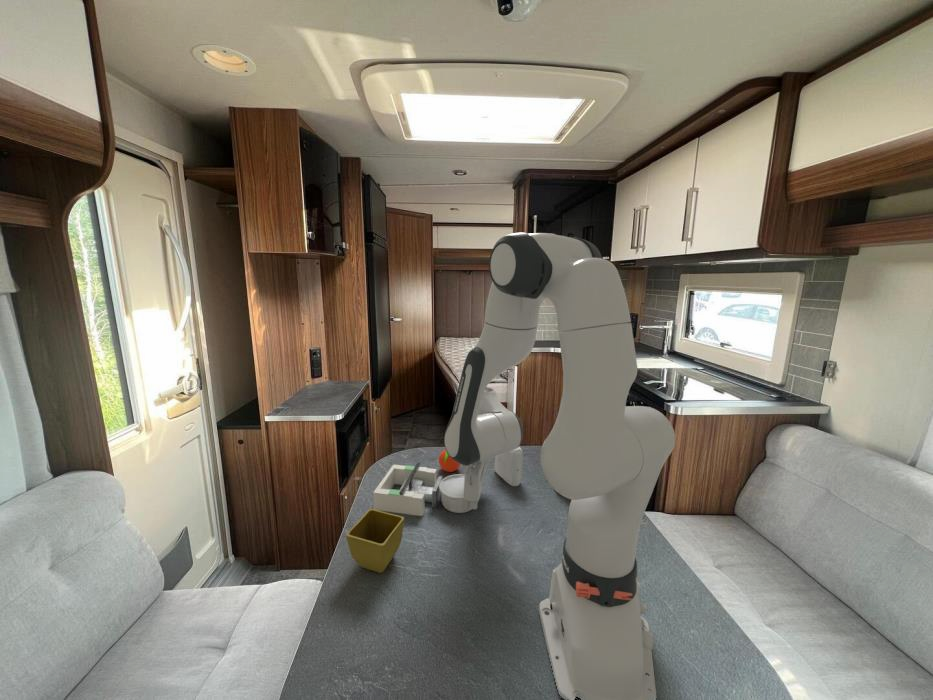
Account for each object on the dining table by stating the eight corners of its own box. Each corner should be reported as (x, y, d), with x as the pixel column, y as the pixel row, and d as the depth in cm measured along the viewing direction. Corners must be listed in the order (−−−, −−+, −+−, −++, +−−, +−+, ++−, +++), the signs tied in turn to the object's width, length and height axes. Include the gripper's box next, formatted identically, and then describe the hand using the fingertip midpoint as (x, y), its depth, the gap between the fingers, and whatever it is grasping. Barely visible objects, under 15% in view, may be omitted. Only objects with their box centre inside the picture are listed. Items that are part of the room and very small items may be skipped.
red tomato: (455, 480, 108) (455, 458, 106) (434, 475, 110) (433, 454, 108) (464, 466, 115) (464, 446, 114) (443, 462, 117) (443, 442, 116)
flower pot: (384, 584, 72) (383, 545, 70) (347, 572, 75) (344, 534, 73) (405, 552, 80) (405, 516, 78) (371, 542, 83) (369, 507, 81)
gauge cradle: (422, 516, 92) (422, 497, 91) (374, 509, 94) (373, 491, 93) (436, 484, 105) (436, 468, 104) (393, 479, 107) (393, 463, 106)
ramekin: (464, 485, 105) (464, 469, 104) (489, 505, 96) (489, 487, 95) (430, 499, 98) (430, 482, 97) (454, 522, 90) (454, 503, 89)
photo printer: (523, 484, 106) (525, 445, 103) (511, 488, 104) (513, 448, 101) (504, 467, 115) (505, 431, 112) (492, 471, 113) (493, 434, 110)
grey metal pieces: (431, 517, 91) (431, 496, 90) (392, 512, 93) (391, 491, 91) (445, 483, 105) (445, 465, 104) (411, 479, 107) (410, 461, 106)
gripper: (484, 470, 82) (483, 524, 85) (494, 432, 102) (493, 476, 105) (457, 467, 84) (457, 520, 86) (472, 430, 103) (471, 474, 106)
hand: (476, 496), depth 96 cm, fingers open, 8 cm apart
